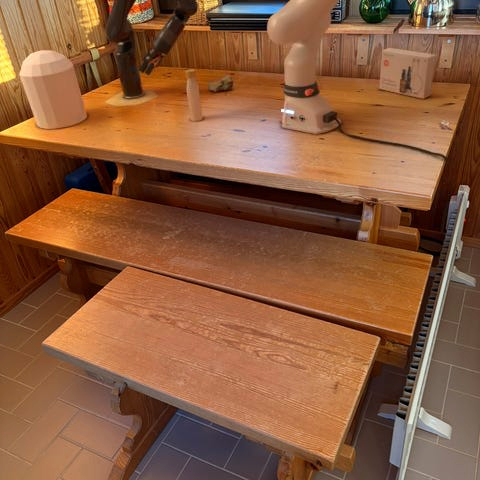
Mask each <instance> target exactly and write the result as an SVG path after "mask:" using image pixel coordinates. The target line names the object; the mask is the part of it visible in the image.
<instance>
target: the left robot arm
mask: <svg viewBox="0 0 480 480" xmlns="http://www.w3.org/2000/svg"><path fill="white" fill-rule="evenodd" d="M136 1H137V0H113V2H112V6H111V10H110V13H109V15H108V18H107V22H106V25H105V35H106V38H107V39H108V41H109V42H110V43H112V44H116V48H115V50H114V52H113V53H114V54H113V55H114V59H115V64H116V67H117V77H119V83H120V87H121V91H122V96H123V98H124V99H127V100H128V99H129V100H131V99H137V98H138V99H139V98H141V97H143V96H144V90H143V85H144V84H143V82H142V79H141V73H142V74H144V73H145V74H146V75H147V76H150V75H151V73H152V72H153V71H154V69H157V68H158V66H159V64H160V63H161V62H162V60H163V59H164V56H168V54H169V53H170V52H171V50H172V48H173V47H174V46H175V44H176V43H177V41H178V38H179V37H180V35H181V34H182V32H183V31H184V30H185V28H186V24H187V23H188V21H189V20H190V18H191V17H192V16H194V15H195V14H196V13H197V12H198V9H199V4H198V1H197V0H176V1H177V5H176V7H175V8H174V10H173V12H172V14H171V15H170V16H169V18H168V20H167V21H166V23H165V25H163V27H162V28H161V29H160V31H159V32H158V34H157V35H156V37H154V40H153V41H152V44H151V45H152V46H153V47H154V48H152V47H150V48H149V50H148V51H147V52H146V54H145V55H144V57H142V64H141V65H140V67H139V65H138V59H137V55H136V50H137V45H136V39H135V33H134V28H133V25H132V23H131V22H130V20H129V19H128V17H129V14H130V12H131V10H132V8H133V7H134V5H135V3H136Z"/></svg>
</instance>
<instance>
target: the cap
mask: <svg viewBox="0 0 480 480" xmlns="http://www.w3.org/2000/svg"><path fill="white" fill-rule="evenodd" d="M184 74H185V78H186V79H188V78H196V77H197V75H196V74H197V73H196V69H194V68H190V69H185V70H184Z"/></svg>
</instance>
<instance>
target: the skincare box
mask: <svg viewBox="0 0 480 480" xmlns="http://www.w3.org/2000/svg"><path fill="white" fill-rule="evenodd" d="M436 57H437V54H435V53H427V52H423V51H422V52H420V51H413V50H407V49H400V48H395V47H394V48H393V47H387V48H385V49H382V50H381V61H380V74H379V86H378V87H379V88H378V89H379V90H383V91H387V92H391V93H395V94H399V95H405V96H409V97H414V98H418V99H422V100H424V99H426V98H428V97H430V96H431V91H432V86H433V85H432V84H433V78H434V73H435V72H434V71H435V70H434V69H435V64H436Z"/></svg>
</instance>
